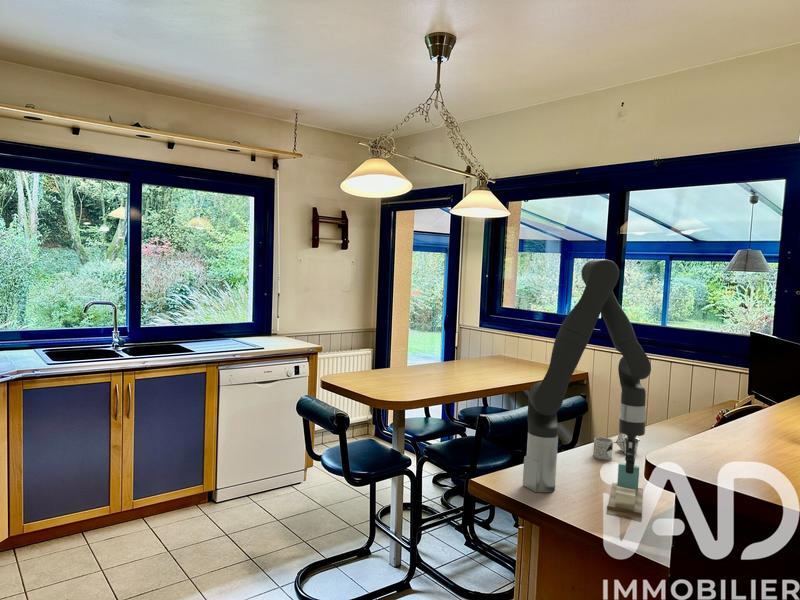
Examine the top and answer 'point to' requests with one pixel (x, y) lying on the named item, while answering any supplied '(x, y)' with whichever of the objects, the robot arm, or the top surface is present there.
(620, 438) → the game die
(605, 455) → the mug
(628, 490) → the ash cube
